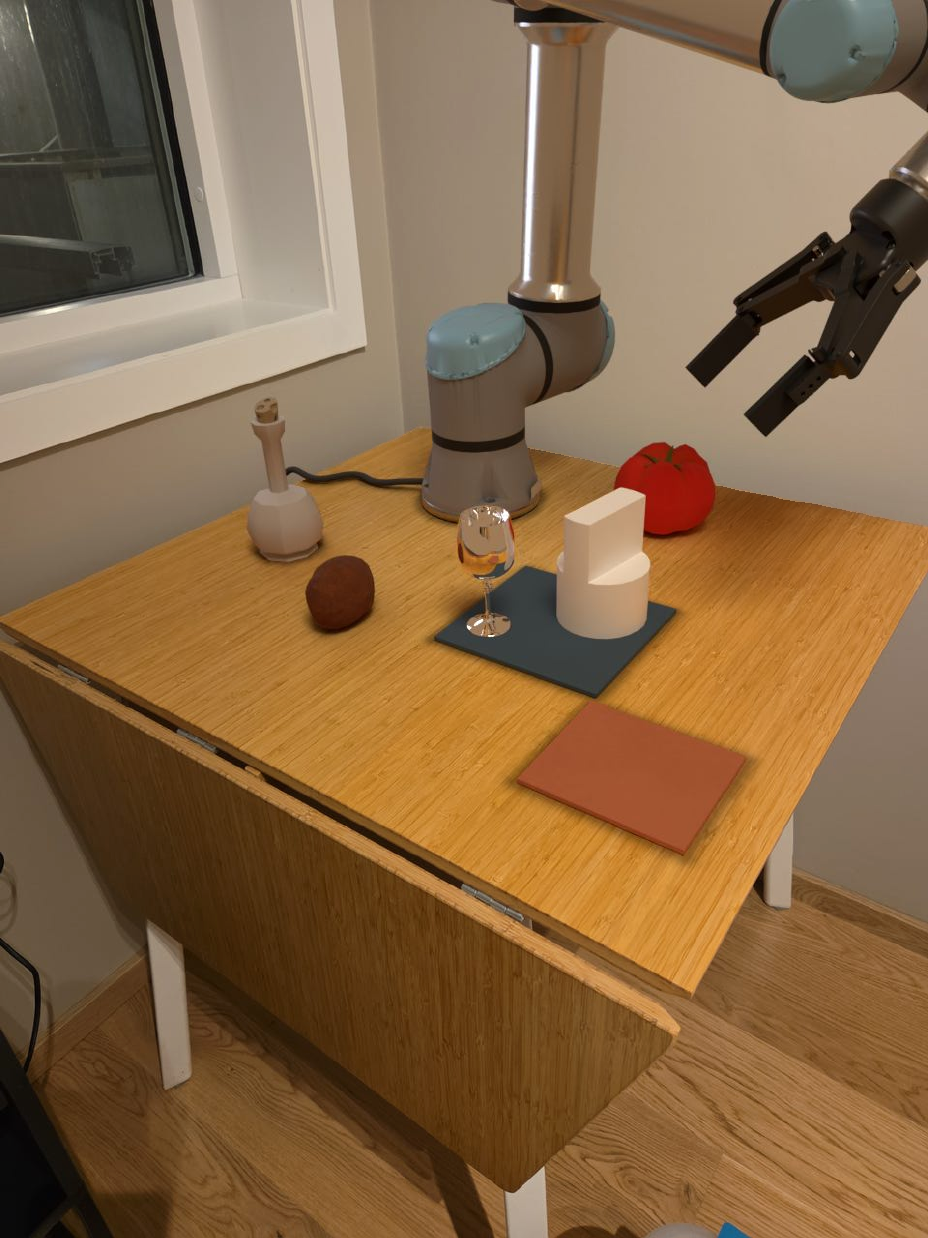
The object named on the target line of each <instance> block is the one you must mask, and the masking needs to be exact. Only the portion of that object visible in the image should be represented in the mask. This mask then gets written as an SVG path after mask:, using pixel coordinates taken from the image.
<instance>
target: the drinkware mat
mask: <svg viewBox="0 0 928 1238" xmlns="http://www.w3.org/2000/svg"><path fill="white" fill-rule="evenodd" d="M490 608H491V613H498V614H501V615H504V616H506V617H507V618H508V619H509V620H510V622H511V627H510V629H509V630H508V631H507V632H506V633H504V634H502V635H499V636H495V637H480V636H476V635H474V634H472V633H470V632H469V631H468V629H467V626H466V625H467V622H468V620H469V619H470V618H472V617H473V616H475V615H478V614H482V613H486V600H485V596H484V597H483V598H482V599H480V600H479V601H478V602H476V603H475V604H474V605H473V606H471V607H470V608H469V609H467V610H466V611H465V612H463V613H462V614H461V615H460V616H458V617H457V618H456V619H455V620H453V621H452V622H450V623H449V624H448V625H447V626H445V627H444V628H442V629H441V630H440V631H439V632H438V633H437V634H434V635H433V640H434V641H435V642H437V643H441V644H444V645H446V646H449V647H451V648H455V649H457V650H459V651H462V652H465V653H468V654H471V655H473V656H476V657H480V658H482V659H484V660H485V659H486V660H487V661H491V662H494V663H497V664H499V665H501V666H504V667H507V668H510V669H513V670H516V671H518V672H521V673H524V674H527V675H530V676H532V677H536V678H537V679H540V680H544V681H545V682H549V683H552V684H555V685H557V686H561V687H563V688H565V689H569V690H572V691H573V692H577V693H579V694H582V695H585V696H588V697H591V698H594V699H597V698H598V697H600V695H601V694H602V693H603V692H604V691H605V690H606V688H608V687H609V685H610V684H611V683H612V682H613V681H614V680H615V679H616V678H617V677H618V676H619V675H620V674H621V673H622V672H623V670H624V669H626V667H627V666H628V665H629V664H630V663H631V662H632V661H633V660H634V659H635V658H636V656H637V655H638V654H639V653H640V652H641V651H642V650H643V649H644V648H645V647H646V646H647V645H648V644H649V642H650V641H652V639H654V637H655V636H656V635H657V634H658V633H659V632H660V631H661V630H662V629H663V628H664V627H665V626H666V625H667V623H668V622H669V621H670V620H672V618H673V617H674V616H675V615H676V614H677V610H678V609H677V608H675V607H672V606H668V605H664V604H661V603H657V602H654V601H650V600H648V606H647V620H646V622H645V624H644V626H643V627H641V628H640V629H639V630H638V631H636V632H634V633H632V634H630V635H628V636H624V637H620V638H613V639H593V638H588V637H583V636H580V635H577V634H574V633H572V632H570V631H568V630H567V629H565V628H564V627H563V626H562V625H561V624H560V623H559V621H558V619H557V616H556V609H557V573H553V572H549V571H546V570H543V569H539V568H535V567H533V566H529V565H524V566H523V567H522V568H520V569H519V570H518V571H517V572H515V573H514V574H513V575H511V576H510V577H508V578H507V579H506V580H504V582H502V583H501V584H500V585H498V586H497V587H496V588H495V589H492V591H491V595H490Z"/></svg>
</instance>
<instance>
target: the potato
mask: <svg viewBox="0 0 928 1238" xmlns="http://www.w3.org/2000/svg"><path fill="white" fill-rule="evenodd" d="M304 594H305V599H306V600H305V601H306V604H307V607H308V610H309V613H310V615H311V617H312V619H313V622H315V623H316V624H317V625H318V626H320V627H321V628H323V629H327V630H338V629H343V628H344V627H345V628H346V627H347V626H349V625H352V624H353V623H354V622H356V621H357V620H359V619H360V618H361V617H362V616H364V615H365V614H366V613H368V612H369V611H370V609H371V608H372V606H373V604H374V602H375V596H376V595H375V594H376V586H375V578H374V574H373V572H372V569H371V567H370V565H369V563H367V562H366V560H364V559H363V558H360V557H359V556H355V555H348V554H344V555H337V556H333V557H331V558H328V559H327V560H325V561H324V562H322V563H321V564H320V565H318V566H317V567H316V568H315V570H314V572H313V574H312V576H311V578H310V579H309V581H308V583H307V585H306V587H305V590H304Z"/></svg>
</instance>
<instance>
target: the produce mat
mask: <svg viewBox="0 0 928 1238" xmlns="http://www.w3.org/2000/svg"><path fill="white" fill-rule="evenodd" d="M746 762H747V756H746V755H743V754H740V753H737V752H735V751H732V750H730V749H727V748H724V747H721V746H718V745H716V744H712V743H710V742H707V741H705V740H702V739H699V738H696V737H693V736H690V735H688V734H685V733H682V732H680V731H676V730H674V729H671V728H669V727H666V726H663V725H660V724H657V723H654V722H651V721H649V720H647V719H644V718H641V717H639V716H635V715H634V714H633V715H632V714H630V713H627V712H624V711H622V710H619V709H616V708H614V707H610V706H607V705H605V704H602V703H600V702H597V701H594V700H590V701H588V703H586V704H585V706H584V707H583V708H581V710H580V711H579V712H578V713H577V714H576V716H574V718H573V719H571V721H570V722H568V723H567V725H566V726H564V728H562V730H561V731H560V732H559V733H558V734H557V736H556V737H554V739H553V740H552V741H551V742H550V743H549V744H548V745H547V746H546V747H545V748H544V749H543V750H542V752H541V753H539V755H538V756H537V757H536V758H535V759H534V760H532V762H531V763H530V764H529V765H528V766H527V767H526V769H524V770H523V772H522V773H521V774H520V775H519V776H518V777H517V778H516V783H517V784H519V785H521V786H523V787H526V788H528V789H530V790H532V791H535V792H537V793H540V794H542V795H544V796H545V797H548V798H551V799H553V800H556V801H557V802H560V803H562V804H564V805H567V806H569V807H571V808H574V809H576V810H578V811H581V812H583V813H585V814H587V815H590V816H591V817H592V816H593V817H595V818H596V819H598V820H601V821H603V822H606V823H608V824H610V825H612V826H615V827H617V828H620V829H622V830H624V831H627V832H629V833H631V834H634V835H636V836H639V837H641V838H643V839H645V840H647V841H650V842H652V843H655V844H656V845H659V846H661V847H664V848H666V849H668V850H671V851H673V852H675V853H677V854H680V855H682V856H685V855H686V853H687V851H688V849H689V848H690V847H691V846H692V844H693V842H694V841H695V839H696V838H697V836H698V834H699V833H700V832H701V830H702V828H703V827H704V825H705V824H706V822H707V821H708V819H709V818H710V817H711V815H712V813H713V811H714V810H715V809H716V807H717V806H718V804H719V803H720V801H721V799H722V798H723V796H724V795H725V794H726V792H727V790H728V789H729V787H730V786H731V784H732V783H733V781H734V780H735V778H736V777H737V776H738V774H739V772H740V770H741V769H742V768H743V766H744V764H745V763H746Z"/></svg>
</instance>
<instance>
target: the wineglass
mask: <svg viewBox="0 0 928 1238" xmlns="http://www.w3.org/2000/svg"><path fill="white" fill-rule="evenodd" d="M514 529H515V527H514V524H513V522H512V519H511V518H510V514H509V512H508V511H507V510H505V509H503V508H501V507H497V506H489V505H485V506H476V507H472V508H469V509H467V510H465V511H463V512H462V513H461V515H460V518H459V522H457V528H456V535H455V556H456V561H457V564H458V566H459V568H460V569H461V570H462V571H463V572H464V573H465V574H466V575H468V576H469V577H471V578H474V579H477V580H482V584H481V587H482V591H483V595H484V597H485V600H486V613H482V614H478V615H475V616H473V617H472V618H470V619H469V620H468V622H467V625H466V626H467V629H468V631H469V632H470V633H472V634H474V635H476V636H480V637H495V636H499V635H502V634H504V633H506V632H507V631H508V630H509V629H510V627H511V622H510V620H509V619H508V618H507V617H506V616H504V615H501V614H498V613H491V608H490V595H491V592H492V591H493V581H492V580H495V579H498V578H500V577H502V576H504V575H505V574H507V573H508V572H509V571H510V570H511V569H512V567H513V566H514V563H515V561H516V557H517V540H516V534H515V533H516V532H515V530H514Z"/></svg>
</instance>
